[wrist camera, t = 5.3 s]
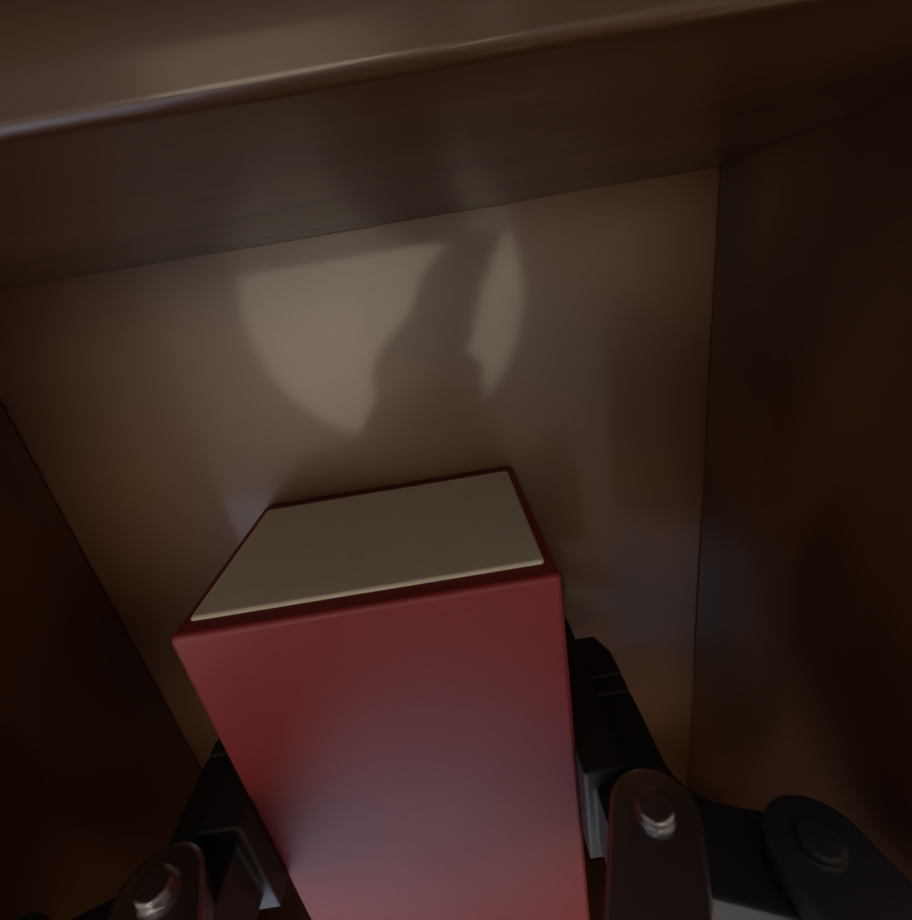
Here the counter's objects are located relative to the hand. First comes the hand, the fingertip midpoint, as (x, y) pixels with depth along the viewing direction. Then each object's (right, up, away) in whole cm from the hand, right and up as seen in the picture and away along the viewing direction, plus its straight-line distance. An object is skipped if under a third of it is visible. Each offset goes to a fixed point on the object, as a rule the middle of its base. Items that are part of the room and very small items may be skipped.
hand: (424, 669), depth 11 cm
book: (0, 0, +1) cm, 1 cm away
